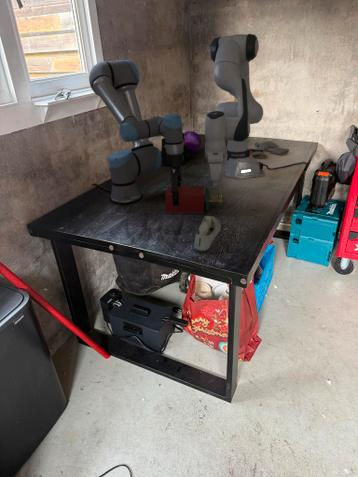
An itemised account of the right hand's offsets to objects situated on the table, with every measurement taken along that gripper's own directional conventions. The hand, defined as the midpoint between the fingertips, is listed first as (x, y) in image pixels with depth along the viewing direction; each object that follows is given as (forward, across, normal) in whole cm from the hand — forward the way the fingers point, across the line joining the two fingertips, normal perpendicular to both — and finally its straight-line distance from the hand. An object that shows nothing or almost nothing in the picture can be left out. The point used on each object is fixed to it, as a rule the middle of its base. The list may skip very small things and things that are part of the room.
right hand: (215, 183), depth 147 cm
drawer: (+11, 0, -8) cm, 13 cm away
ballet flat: (+12, +27, -3) cm, 30 cm away
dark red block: (+12, 0, -14) cm, 18 cm away
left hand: (+8, 0, -17) cm, 19 cm away
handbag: (+12, -72, -26) cm, 77 cm away
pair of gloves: (+12, -88, +32) cm, 94 cm away
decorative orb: (+12, -92, -17) cm, 95 cm away
